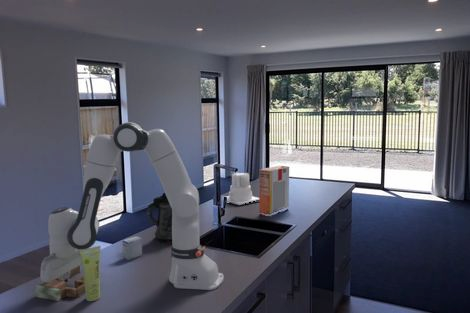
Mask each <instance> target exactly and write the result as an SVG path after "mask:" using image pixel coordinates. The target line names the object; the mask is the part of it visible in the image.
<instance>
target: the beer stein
mask: <svg viewBox="0 0 470 313" xmlns="http://www.w3.org/2000/svg"><path fill="white" fill-rule="evenodd" d="M152 201H153V202H151V203H150V204H148V206H147V209H146V215H147V217H148V219H149V220H150V222H151V223H152V224H154V226H156V228H155V232H154V236H155V240H156V241H155V242H158V243H160V244H167V245H168V244H172V208H171V206H170V203H169V201H168V199H167V196H166V194H165V192H163V193H162V195H160V196H157V197H155V198H153V200H152ZM154 209H158V215H157V219H156V218H155V217H154V216H153V214H152V212H153V210H154Z"/></svg>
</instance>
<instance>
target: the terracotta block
mask: <svg viewBox="0 0 470 313" xmlns="http://www.w3.org/2000/svg"><path fill="white" fill-rule="evenodd" d="M66 284H67V283H65V282H63V281H58V280H54V281H52V282H51V283H49V284H47V285H45V287H50V288H56V289H62V288H64V287H67V286H66Z"/></svg>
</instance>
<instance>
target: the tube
mask: <svg viewBox="0 0 470 313" xmlns="http://www.w3.org/2000/svg"><path fill="white" fill-rule="evenodd" d="M80 256H81V261H82V264H81V267H82V273H83V275H84V283H85V293H84V294H85V300H86V301H87V302H95V301H97V300H99V299H100V297H101V282H100V280H101V279H100V278H101V277H100V274H101V273H100V264H101V263H100V262H101V261H100V260H101V245H98V246H92V247H89V248H87V249H84V250H80ZM83 275H82V276H83Z"/></svg>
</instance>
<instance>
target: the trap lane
mask: <svg viewBox="0 0 470 313" xmlns="http://www.w3.org/2000/svg"><path fill="white" fill-rule="evenodd" d="M80 273H81V265H79V266H77V267H76V268H74V269H72V270H71V273H70V276H69V280H70V279H71V278H72V277H75V276H77V275H78V274H80ZM64 275H65V274H64ZM63 278H64V277H63ZM55 280H58V281H59V279H58V278H57V279H55ZM53 281H54V280H53ZM51 282H52V281H51ZM51 282H50V283H51ZM73 282H74V287H70V286H66V287H64V288H62V289H56V288H50V287H45V285H47V284H49V283H46V282H44V284H42V285H38V284H36V286H34V295H35V298H40V299H45V300H51V301H56V302H59V301H61V300H63V299H64V298H65V297H71V298H75V299H76V298H79V297H81V296H83V295H84V294H86V293H85V283H84V275H81V276H80V277H79V278H77V279H75V280H74V281H73Z"/></svg>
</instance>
